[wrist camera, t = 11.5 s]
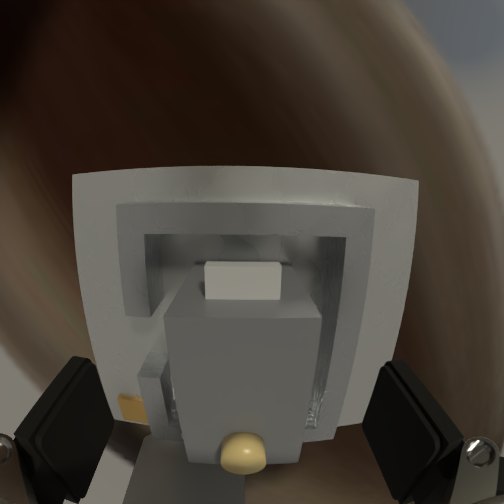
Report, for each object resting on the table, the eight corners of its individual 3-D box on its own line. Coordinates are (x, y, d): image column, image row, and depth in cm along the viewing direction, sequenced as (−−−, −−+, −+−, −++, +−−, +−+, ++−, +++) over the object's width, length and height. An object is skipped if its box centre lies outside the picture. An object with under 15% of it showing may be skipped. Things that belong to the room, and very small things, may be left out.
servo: (194, 239, 13) (149, 292, 7) (291, 240, 14) (336, 293, 7) (204, 395, 15) (189, 491, 9) (281, 395, 16) (297, 491, 9)
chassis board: (79, 174, 13) (45, 174, 10) (410, 180, 14) (445, 181, 11) (117, 412, 17) (103, 441, 14) (367, 413, 17) (382, 443, 14)
